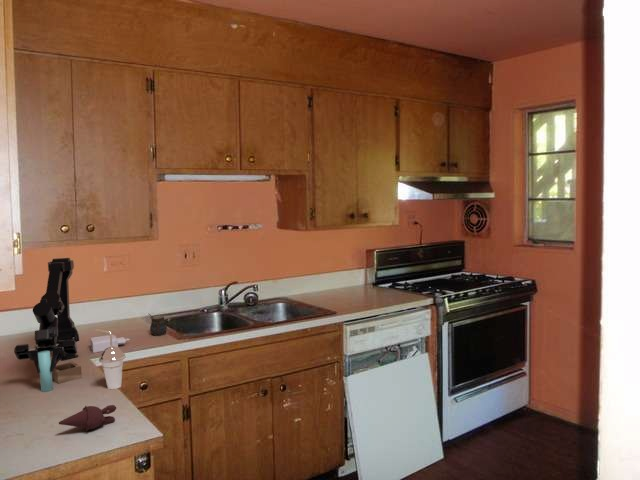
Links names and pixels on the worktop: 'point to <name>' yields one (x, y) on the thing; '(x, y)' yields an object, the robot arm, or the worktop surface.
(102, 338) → the lavender nozzle bottle
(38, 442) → the worktop surface
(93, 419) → the icecream
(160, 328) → the mate gourd
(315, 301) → the worktop surface
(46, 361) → the peg
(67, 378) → the socket block
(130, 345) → the worktop surface
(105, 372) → the cup with straw
